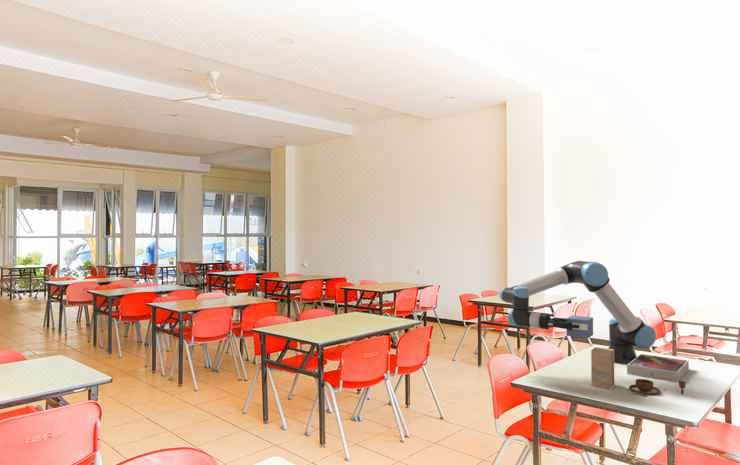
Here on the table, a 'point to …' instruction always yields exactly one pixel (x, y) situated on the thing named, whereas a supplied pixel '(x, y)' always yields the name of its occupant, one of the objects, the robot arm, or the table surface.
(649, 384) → the place setting
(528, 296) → the robot arm
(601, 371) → the box
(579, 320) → the blue cube
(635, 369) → the product packaging
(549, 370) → the table surface
